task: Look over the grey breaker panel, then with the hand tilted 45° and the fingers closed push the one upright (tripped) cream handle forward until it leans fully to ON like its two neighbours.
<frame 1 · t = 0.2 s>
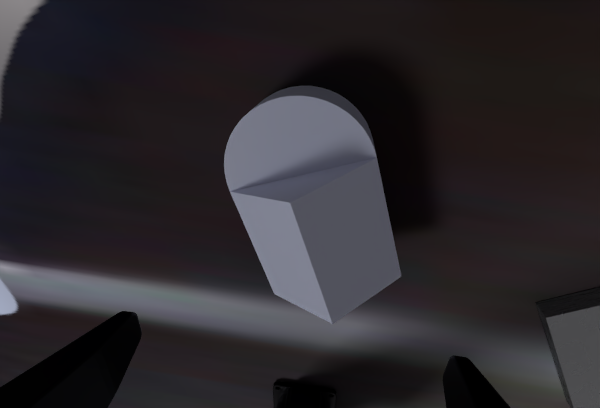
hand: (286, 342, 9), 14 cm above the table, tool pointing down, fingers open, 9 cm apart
wedge on round base: (314, 181, 23), on the table
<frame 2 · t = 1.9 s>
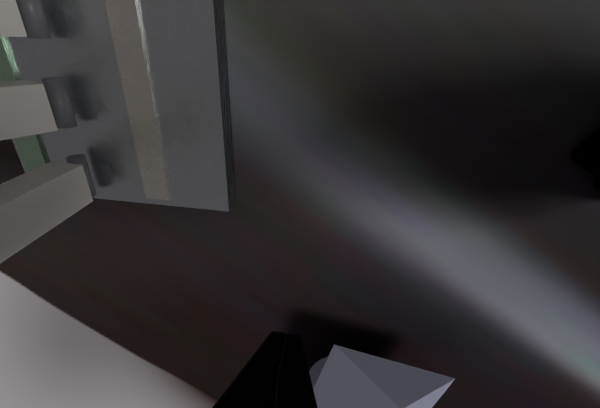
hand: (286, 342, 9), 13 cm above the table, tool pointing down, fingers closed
wedge on round base: (362, 370, 29), on the table
breaker panel: (119, 97, 20), on the table
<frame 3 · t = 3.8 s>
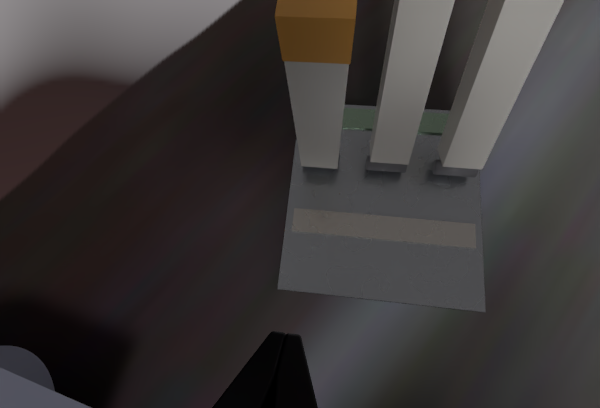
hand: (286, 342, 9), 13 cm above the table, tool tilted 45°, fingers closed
breaker 3 tripped: (319, 108, 17), point 9 cm above the table, hinge at 0.0°
breaker 2: (406, 73, 18), point 8 cm above the table, hinge at 30.0°
breaker 1: (492, 76, 18), point 8 cm above the table, hinge at 30.0°
breaker panel: (379, 201, 24), on the table
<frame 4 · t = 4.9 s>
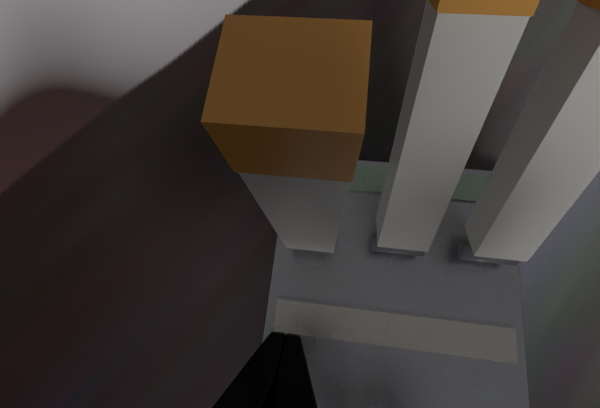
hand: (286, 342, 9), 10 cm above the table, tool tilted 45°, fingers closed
breaker 3 tripped: (307, 198, 12), point 9 cm above the table, hinge at 0.0°
breaker 2: (430, 142, 13), point 8 cm above the table, hinge at 30.0°
breaker 1: (552, 150, 12), point 8 cm above the table, hinge at 30.0°
breaker panel: (387, 285, 19), on the table
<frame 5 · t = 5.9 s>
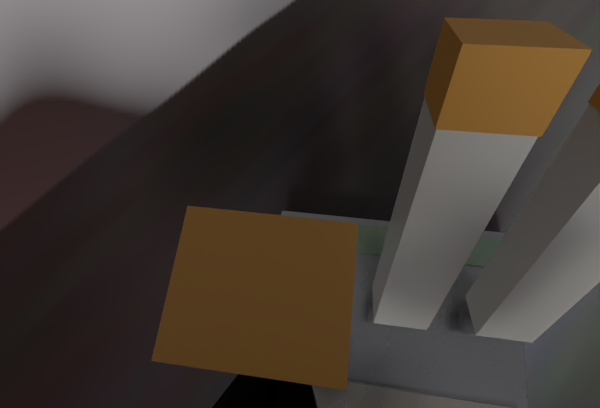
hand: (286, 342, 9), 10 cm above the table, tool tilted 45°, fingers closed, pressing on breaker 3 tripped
breaker 3 tripped: (296, 300, 11), point 9 cm above the table, hinge at 0.5°, touching gripper
breaker 2: (428, 230, 12), point 8 cm above the table, hinge at 30.0°
breaker 1: (560, 242, 12), point 8 cm above the table, hinge at 30.0°
breaker panel: (384, 351, 18), on the table
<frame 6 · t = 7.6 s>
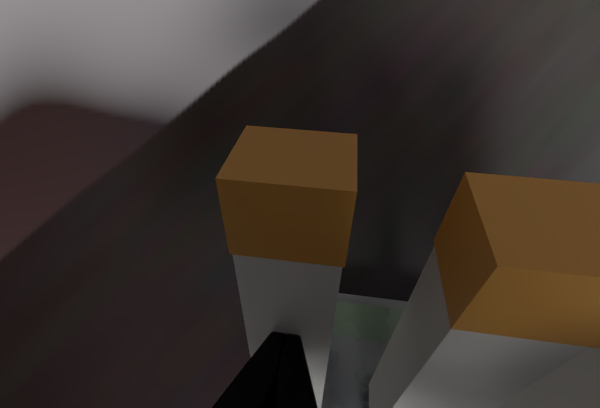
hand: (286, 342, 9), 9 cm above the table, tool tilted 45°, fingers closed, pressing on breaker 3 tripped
breaker 3 tripped: (293, 330, 11), point 7 cm above the table, hinge at 35.1°, touching gripper
breaker 2: (435, 369, 10), point 8 cm above the table, hinge at 30.0°
breaker 1: (596, 390, 9), point 8 cm above the table, hinge at 30.0°
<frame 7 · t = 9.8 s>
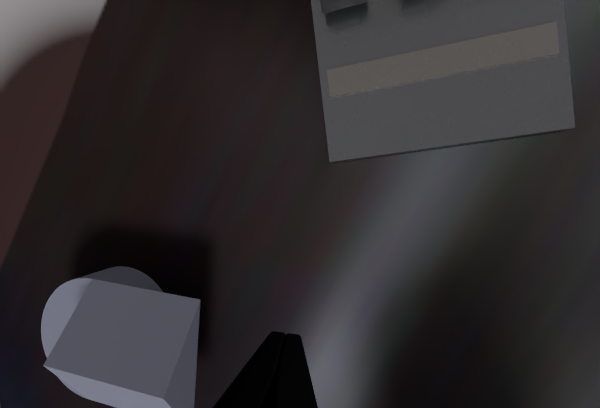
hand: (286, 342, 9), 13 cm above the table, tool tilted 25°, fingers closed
wedge on round base: (148, 324, 26), on the table
breaker panel: (425, 33, 20), on the table
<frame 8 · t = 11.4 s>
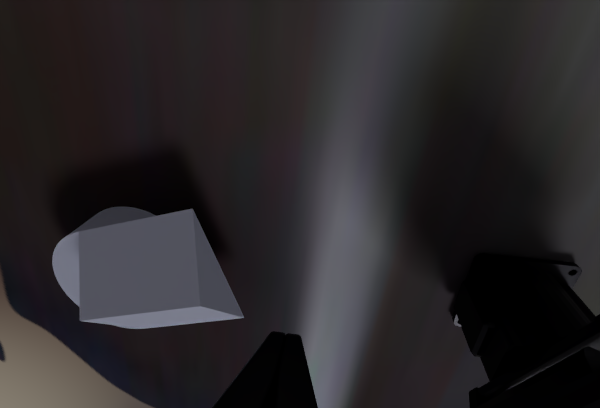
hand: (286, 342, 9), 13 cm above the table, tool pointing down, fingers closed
wedge on round base: (162, 250, 26), on the table
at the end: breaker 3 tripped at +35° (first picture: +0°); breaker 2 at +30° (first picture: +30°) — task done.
